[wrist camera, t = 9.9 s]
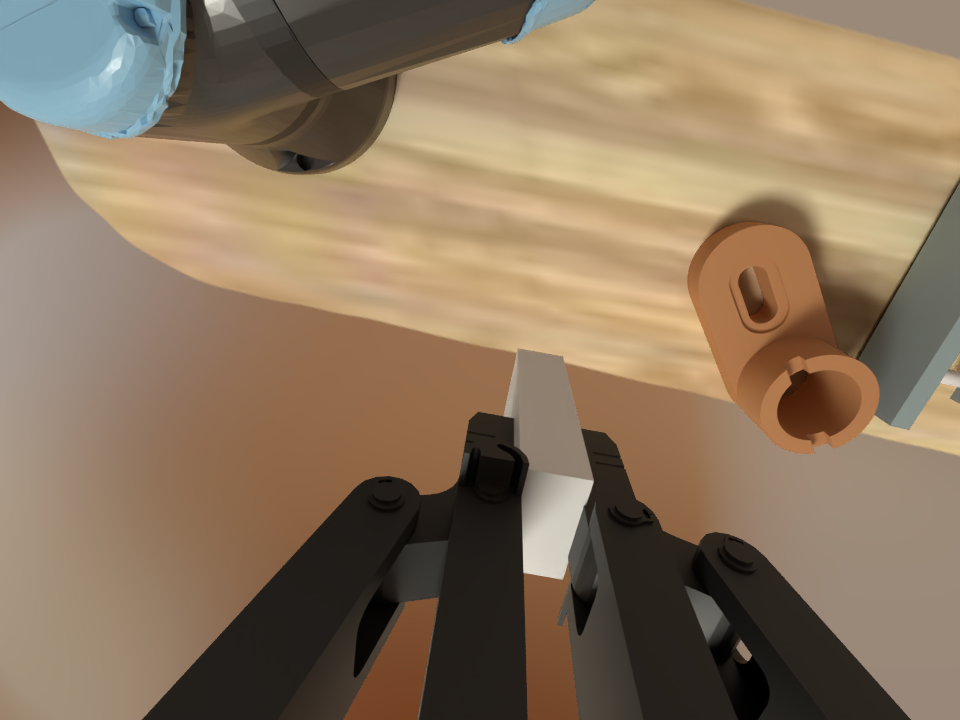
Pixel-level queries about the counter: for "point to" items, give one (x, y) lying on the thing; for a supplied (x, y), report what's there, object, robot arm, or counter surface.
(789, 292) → the bracket
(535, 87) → the counter surface
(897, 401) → the plate
